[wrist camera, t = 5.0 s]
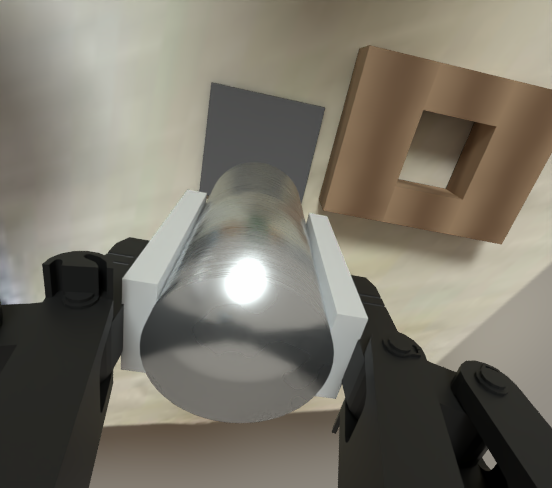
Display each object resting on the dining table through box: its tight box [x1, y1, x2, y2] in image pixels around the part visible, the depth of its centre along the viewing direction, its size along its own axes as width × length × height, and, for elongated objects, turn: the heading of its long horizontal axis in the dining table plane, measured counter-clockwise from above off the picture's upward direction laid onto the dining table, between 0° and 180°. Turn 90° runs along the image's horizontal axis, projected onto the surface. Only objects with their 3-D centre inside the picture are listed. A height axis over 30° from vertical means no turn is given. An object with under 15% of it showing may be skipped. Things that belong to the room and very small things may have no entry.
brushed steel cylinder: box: [140, 162, 334, 423], centre depth 12 cm, size 4×4×10 cm
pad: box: [199, 83, 325, 203], centre depth 29 cm, size 9×9×1 cm
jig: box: [319, 45, 552, 244], centre depth 28 cm, size 16×12×3 cm
